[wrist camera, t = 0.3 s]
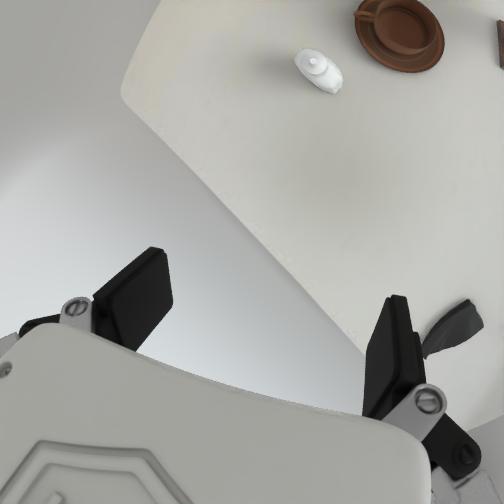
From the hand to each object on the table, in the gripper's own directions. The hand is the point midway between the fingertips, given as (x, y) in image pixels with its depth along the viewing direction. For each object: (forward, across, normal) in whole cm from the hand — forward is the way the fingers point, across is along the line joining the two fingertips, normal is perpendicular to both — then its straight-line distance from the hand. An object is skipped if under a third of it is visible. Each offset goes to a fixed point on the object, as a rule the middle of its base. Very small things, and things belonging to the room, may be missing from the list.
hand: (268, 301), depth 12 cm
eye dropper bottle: (+31, +1, -12) cm, 33 cm away
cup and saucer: (+31, -9, -20) cm, 38 cm away
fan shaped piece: (+31, -28, +24) cm, 48 cm away
